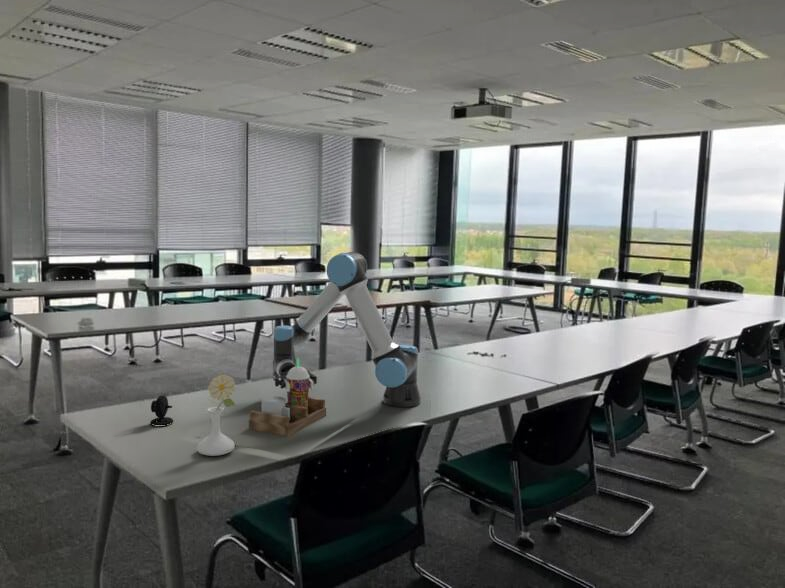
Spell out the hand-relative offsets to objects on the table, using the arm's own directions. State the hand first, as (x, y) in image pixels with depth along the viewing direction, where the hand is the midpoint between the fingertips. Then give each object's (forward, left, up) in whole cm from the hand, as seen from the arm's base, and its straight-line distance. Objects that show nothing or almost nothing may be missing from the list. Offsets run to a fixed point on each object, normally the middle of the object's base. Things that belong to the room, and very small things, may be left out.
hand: (300, 386), depth 217 cm
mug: (+5, +8, -12) cm, 15 cm away
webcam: (+43, +21, -14) cm, 50 cm away
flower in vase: (+8, +33, -14) cm, 37 cm away
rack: (+3, +2, -14) cm, 15 cm away
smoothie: (+3, -3, -11) cm, 12 cm away
